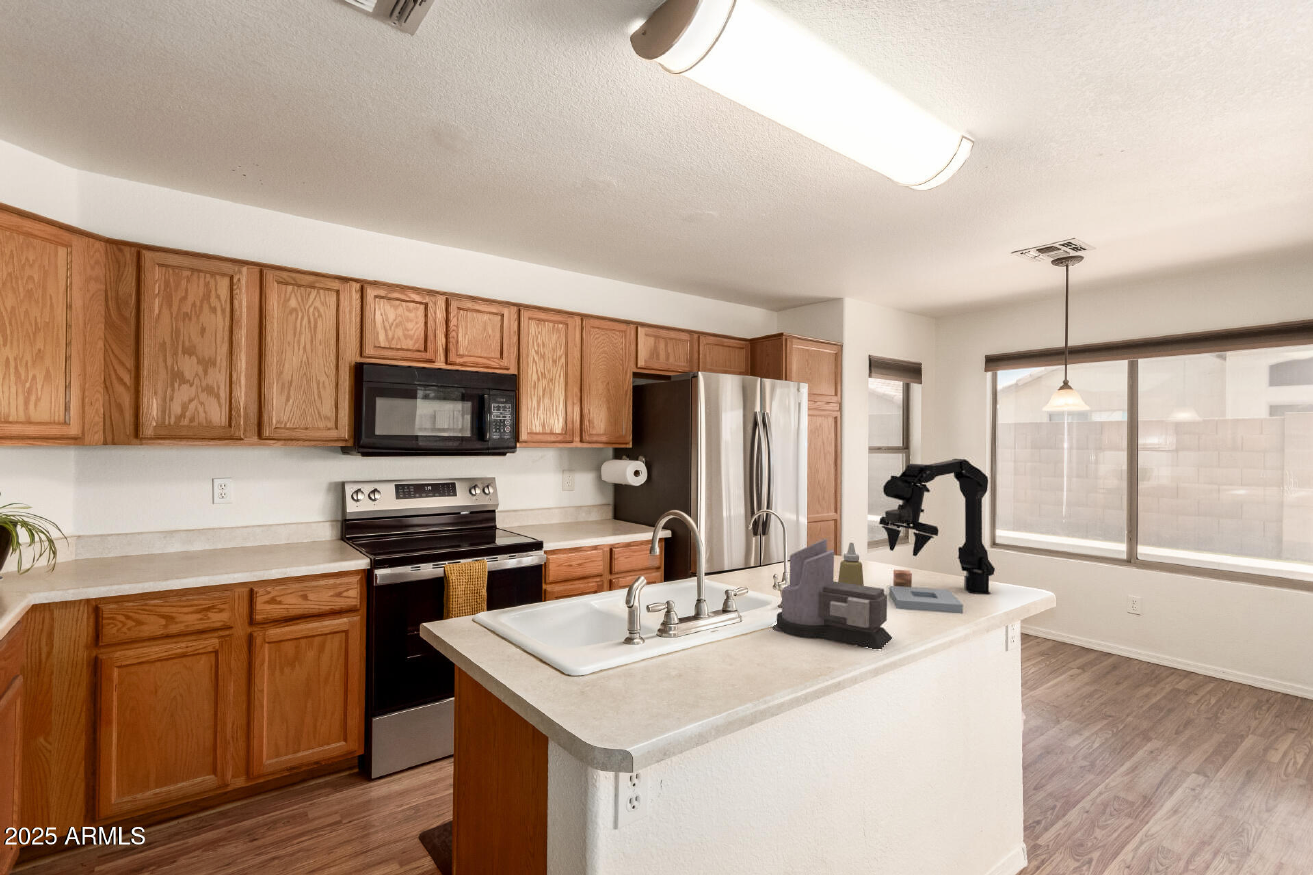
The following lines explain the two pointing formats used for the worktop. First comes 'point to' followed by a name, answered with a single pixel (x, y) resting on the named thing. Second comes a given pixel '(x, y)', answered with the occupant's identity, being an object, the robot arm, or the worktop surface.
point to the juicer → (830, 603)
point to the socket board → (925, 599)
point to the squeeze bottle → (851, 568)
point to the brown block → (902, 578)
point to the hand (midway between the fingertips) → (902, 553)
